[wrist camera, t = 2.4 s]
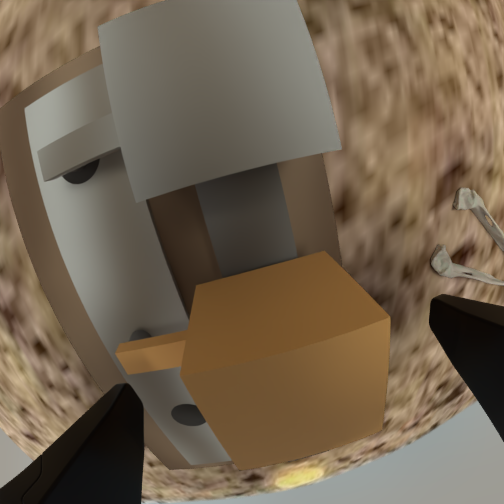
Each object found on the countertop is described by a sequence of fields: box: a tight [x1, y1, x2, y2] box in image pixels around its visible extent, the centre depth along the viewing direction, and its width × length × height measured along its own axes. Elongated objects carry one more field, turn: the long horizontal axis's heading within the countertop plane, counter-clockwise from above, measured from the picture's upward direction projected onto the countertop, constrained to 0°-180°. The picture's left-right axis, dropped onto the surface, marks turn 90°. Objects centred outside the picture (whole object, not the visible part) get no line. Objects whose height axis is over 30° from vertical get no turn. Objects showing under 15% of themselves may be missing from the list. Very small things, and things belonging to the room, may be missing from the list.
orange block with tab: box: [115, 251, 390, 471], centre depth 8 cm, size 8×4×5 cm, turn 104°
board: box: [0, 0, 342, 470], centre depth 9 cm, size 12×22×5 cm, turn 14°
